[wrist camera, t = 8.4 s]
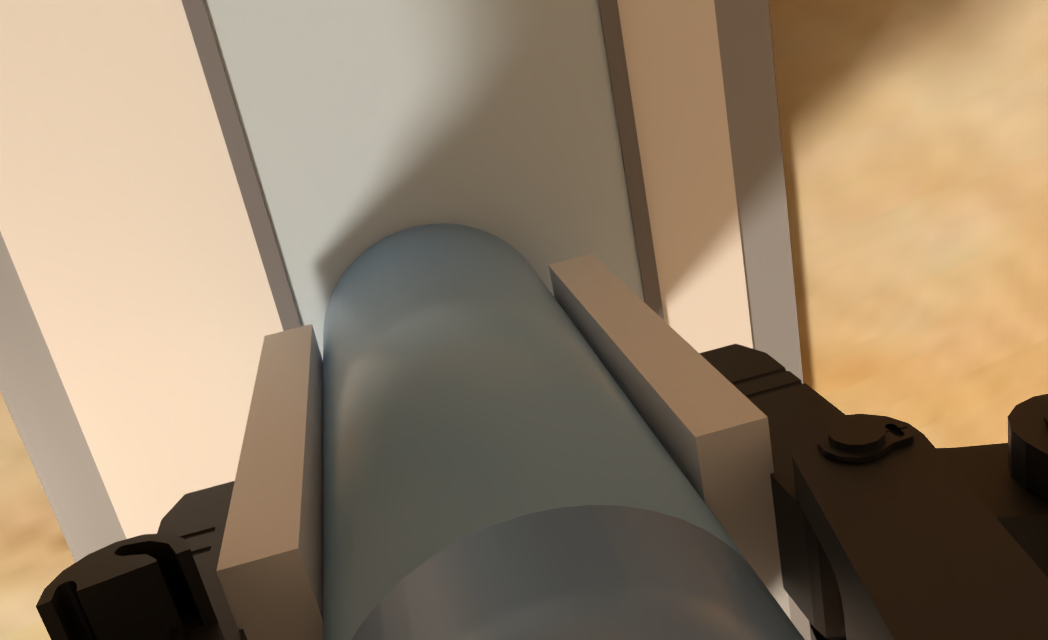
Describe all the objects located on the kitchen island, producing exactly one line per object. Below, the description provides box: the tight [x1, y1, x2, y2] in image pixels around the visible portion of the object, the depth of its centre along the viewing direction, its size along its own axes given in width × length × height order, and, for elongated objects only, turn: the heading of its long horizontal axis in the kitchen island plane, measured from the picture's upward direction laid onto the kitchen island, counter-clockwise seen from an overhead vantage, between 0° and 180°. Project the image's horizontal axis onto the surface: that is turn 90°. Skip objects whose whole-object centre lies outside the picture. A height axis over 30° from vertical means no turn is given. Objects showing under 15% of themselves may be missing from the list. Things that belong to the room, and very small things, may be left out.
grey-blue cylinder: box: [323, 223, 805, 640], centre depth 11 cm, size 4×4×12 cm
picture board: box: [0, 0, 811, 640], centre depth 18 cm, size 24×14×1 cm, turn 11°
